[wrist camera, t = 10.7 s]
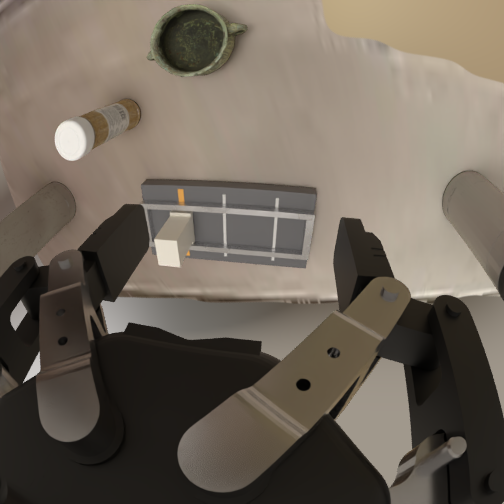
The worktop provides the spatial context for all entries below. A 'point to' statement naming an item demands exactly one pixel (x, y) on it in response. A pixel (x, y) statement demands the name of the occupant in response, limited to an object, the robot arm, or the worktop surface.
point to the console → (237, 219)
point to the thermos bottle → (35, 223)
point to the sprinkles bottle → (95, 128)
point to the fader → (175, 238)
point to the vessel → (193, 40)
